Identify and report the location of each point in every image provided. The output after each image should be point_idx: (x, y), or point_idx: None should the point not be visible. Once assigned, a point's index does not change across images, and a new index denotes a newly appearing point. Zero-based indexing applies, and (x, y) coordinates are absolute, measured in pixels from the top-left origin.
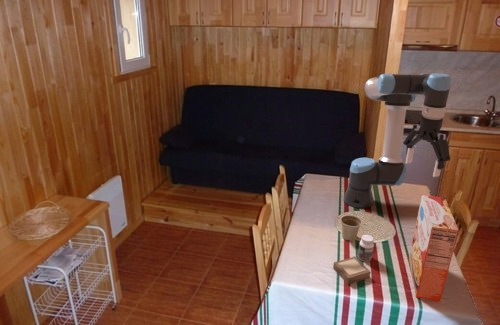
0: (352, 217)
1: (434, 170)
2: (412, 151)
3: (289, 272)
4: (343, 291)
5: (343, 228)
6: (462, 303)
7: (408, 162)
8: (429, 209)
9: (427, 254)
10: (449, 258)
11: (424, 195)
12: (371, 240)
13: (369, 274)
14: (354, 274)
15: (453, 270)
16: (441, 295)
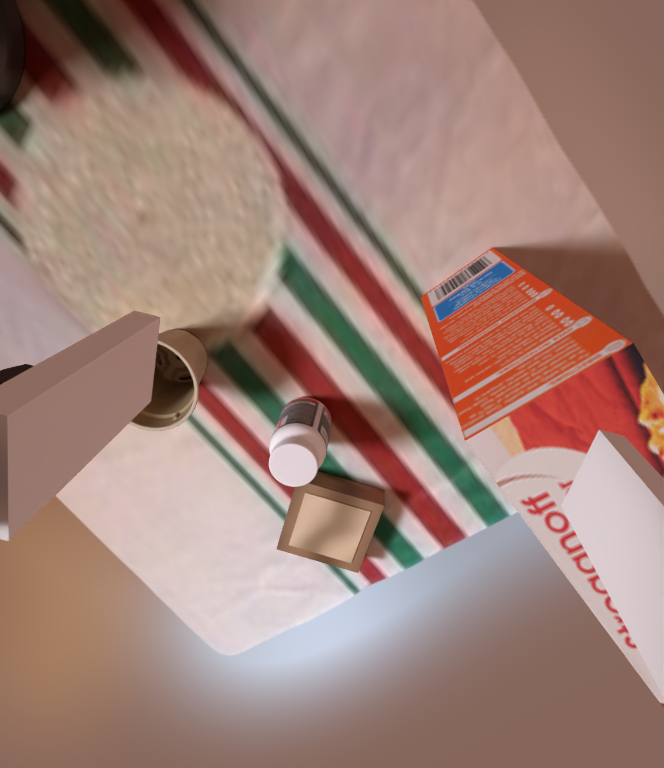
0: None
1: (600, 564)
2: (57, 419)
3: (220, 621)
4: (368, 582)
5: (156, 407)
6: None
7: (148, 383)
8: (599, 587)
9: None
10: None
11: (483, 434)
12: (314, 469)
13: (383, 501)
14: (358, 549)
15: (590, 220)
16: None
